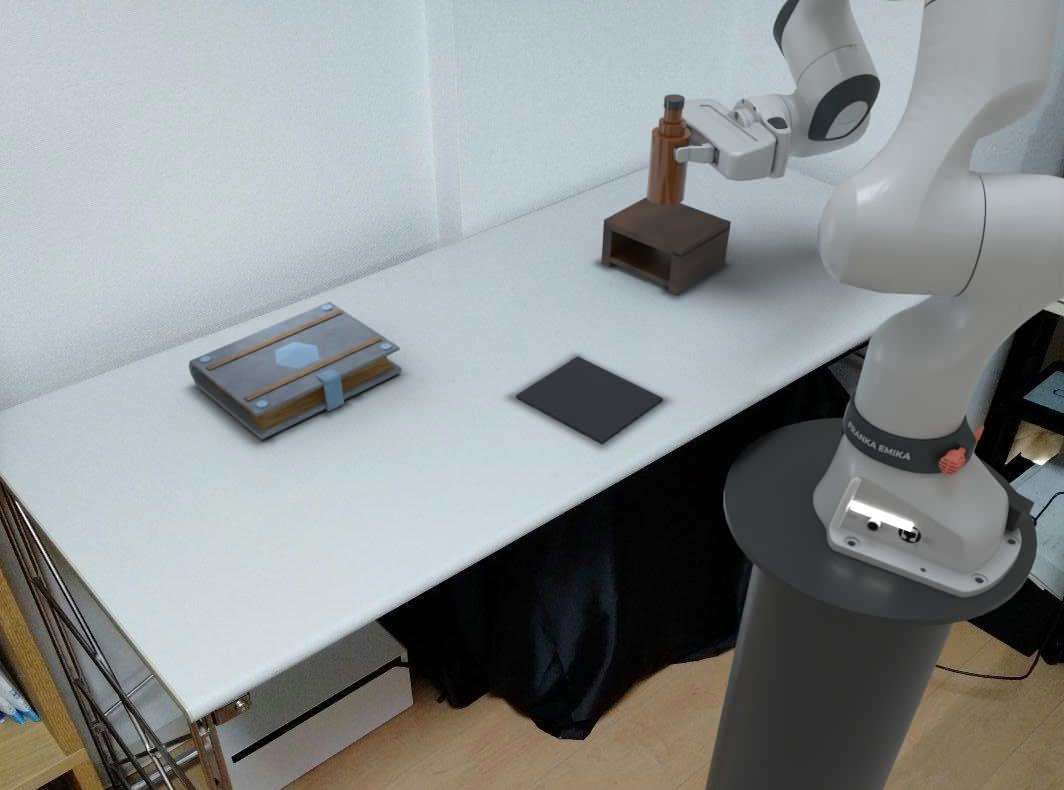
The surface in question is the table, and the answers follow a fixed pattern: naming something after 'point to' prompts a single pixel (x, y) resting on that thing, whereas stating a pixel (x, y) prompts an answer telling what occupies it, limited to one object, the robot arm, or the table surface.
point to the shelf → (666, 243)
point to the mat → (589, 399)
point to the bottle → (668, 155)
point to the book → (295, 368)
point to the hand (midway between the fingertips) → (664, 145)
